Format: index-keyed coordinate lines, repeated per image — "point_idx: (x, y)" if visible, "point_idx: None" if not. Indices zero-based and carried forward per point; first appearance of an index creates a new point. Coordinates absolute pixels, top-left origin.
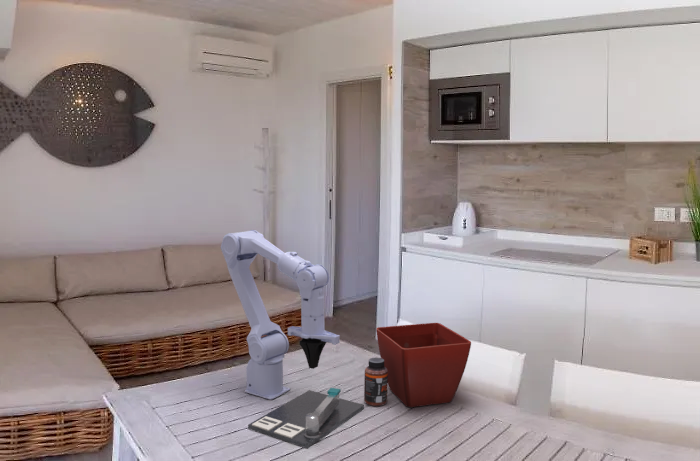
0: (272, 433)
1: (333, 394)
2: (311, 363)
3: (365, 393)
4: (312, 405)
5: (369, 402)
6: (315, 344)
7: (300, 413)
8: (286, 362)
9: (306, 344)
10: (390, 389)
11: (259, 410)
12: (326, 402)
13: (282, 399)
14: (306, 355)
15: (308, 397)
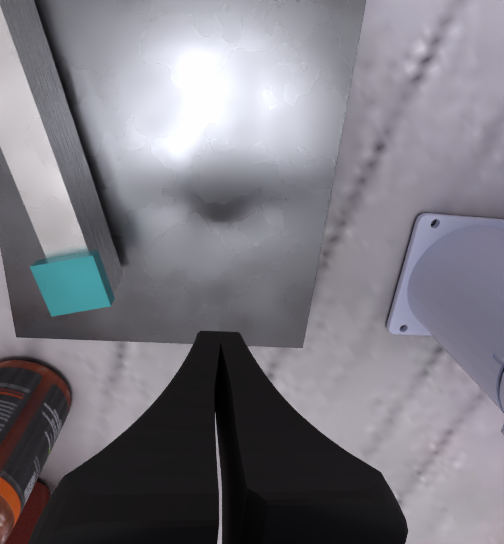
0: None
1: (60, 257)
2: (206, 348)
3: (28, 393)
4: (206, 228)
5: (16, 365)
6: (35, 535)
7: (208, 122)
8: (494, 494)
9: (247, 493)
10: (36, 484)
11: (426, 93)
12: (19, 140)
13: (376, 245)
14: (262, 389)
15: (268, 288)
